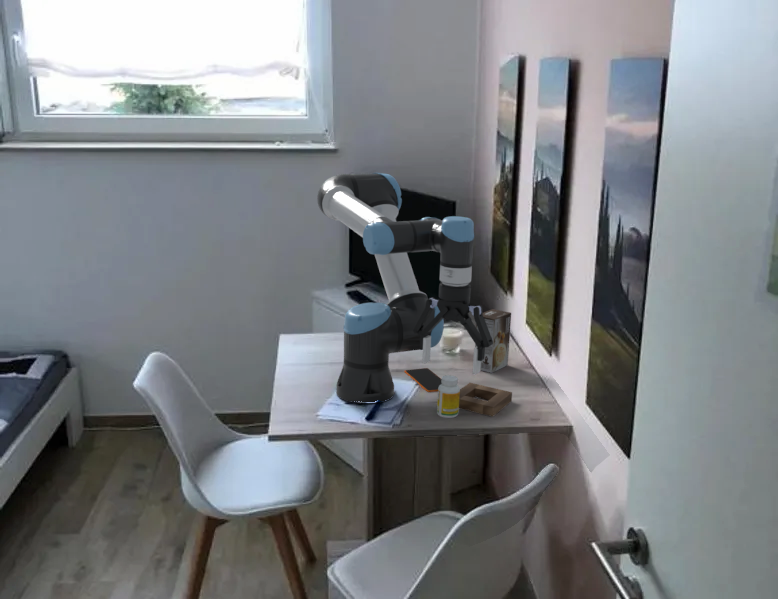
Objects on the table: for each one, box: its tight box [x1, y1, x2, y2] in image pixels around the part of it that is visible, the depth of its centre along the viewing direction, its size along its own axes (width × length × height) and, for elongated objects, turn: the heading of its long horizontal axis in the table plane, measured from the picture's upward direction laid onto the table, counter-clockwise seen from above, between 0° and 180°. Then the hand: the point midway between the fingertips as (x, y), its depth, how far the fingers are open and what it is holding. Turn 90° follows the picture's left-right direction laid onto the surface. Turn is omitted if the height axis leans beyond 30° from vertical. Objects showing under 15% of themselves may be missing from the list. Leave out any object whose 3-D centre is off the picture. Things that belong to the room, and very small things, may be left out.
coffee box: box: [474, 308, 512, 374], centre depth 241 cm, size 9×6×16 cm
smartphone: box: [404, 367, 442, 393], centre depth 232 cm, size 8×17×1 cm, turn 22°
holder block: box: [459, 382, 513, 417], centre depth 216 cm, size 12×12×2 cm
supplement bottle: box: [436, 374, 461, 419], centre depth 208 cm, size 5×5×10 cm
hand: (450, 367), depth 206 cm, fingers open, 13 cm apart
